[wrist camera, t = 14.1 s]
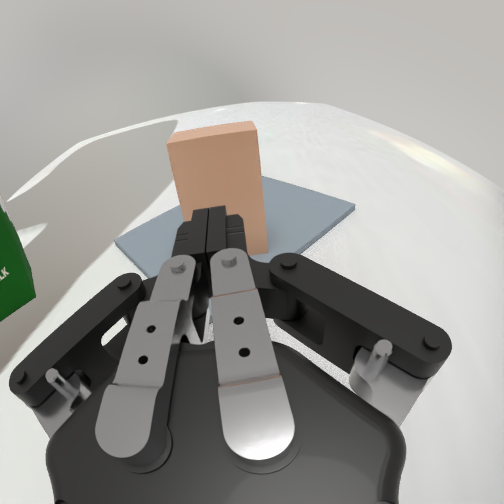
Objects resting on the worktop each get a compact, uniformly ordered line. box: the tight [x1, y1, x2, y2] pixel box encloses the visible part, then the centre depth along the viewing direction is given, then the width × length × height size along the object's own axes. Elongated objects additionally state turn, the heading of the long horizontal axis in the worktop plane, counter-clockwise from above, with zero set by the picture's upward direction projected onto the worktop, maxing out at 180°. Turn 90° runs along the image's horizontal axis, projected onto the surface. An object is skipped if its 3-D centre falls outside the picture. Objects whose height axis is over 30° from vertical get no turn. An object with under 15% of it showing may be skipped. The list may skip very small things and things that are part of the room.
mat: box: [114, 176, 355, 324], centre depth 29 cm, size 20×16×1 cm
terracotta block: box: [166, 121, 268, 256], centre depth 22 cm, size 4×6×10 cm, turn 95°
